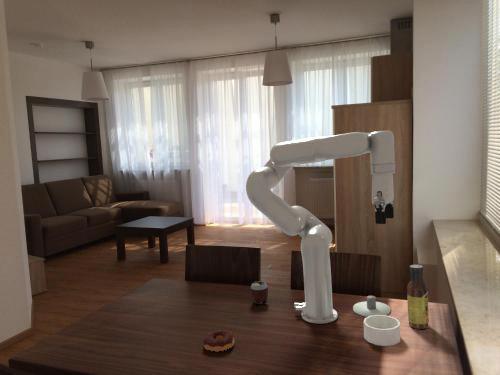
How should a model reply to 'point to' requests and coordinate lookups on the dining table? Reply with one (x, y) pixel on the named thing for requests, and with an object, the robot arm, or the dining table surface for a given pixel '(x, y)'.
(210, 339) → the donut
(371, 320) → the bowl
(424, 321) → the sauce bottle
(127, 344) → the dining table surface
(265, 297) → the mate gourd
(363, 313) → the lid
